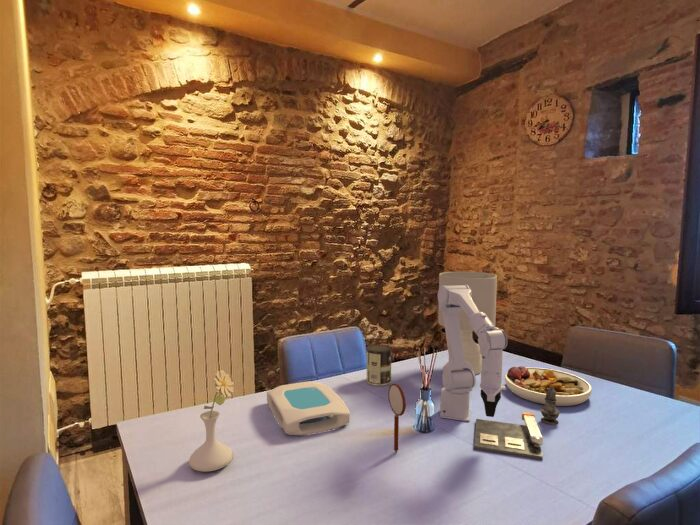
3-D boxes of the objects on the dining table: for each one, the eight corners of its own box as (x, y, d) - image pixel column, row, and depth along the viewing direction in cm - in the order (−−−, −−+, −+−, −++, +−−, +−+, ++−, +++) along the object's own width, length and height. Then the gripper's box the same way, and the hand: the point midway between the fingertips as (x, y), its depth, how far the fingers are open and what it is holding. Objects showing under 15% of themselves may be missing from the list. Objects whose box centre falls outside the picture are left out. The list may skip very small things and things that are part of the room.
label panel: (474, 449, 123) (474, 442, 123) (476, 421, 140) (476, 416, 140) (542, 460, 118) (542, 453, 118) (535, 429, 135) (535, 424, 135)
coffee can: (390, 376, 181) (390, 344, 180) (392, 386, 171) (392, 351, 169) (365, 376, 181) (366, 344, 180) (366, 386, 171) (366, 351, 170)
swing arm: (521, 417, 139) (521, 411, 139) (533, 418, 138) (533, 413, 138) (531, 445, 122) (531, 438, 121) (544, 446, 121) (545, 440, 121)
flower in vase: (208, 481, 108) (205, 385, 105) (179, 467, 114) (176, 376, 111) (246, 457, 119) (244, 369, 116) (218, 446, 125) (216, 362, 122)
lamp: (484, 384, 173) (488, 279, 169) (428, 372, 186) (430, 275, 182) (499, 367, 193) (503, 273, 189) (448, 358, 206) (450, 270, 202)
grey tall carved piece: (561, 426, 137) (563, 389, 136) (542, 424, 139) (543, 388, 137) (556, 418, 143) (558, 383, 142) (538, 416, 144) (539, 381, 143)
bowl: (593, 388, 170) (594, 369, 169) (587, 417, 144) (589, 394, 144) (513, 374, 186) (514, 356, 185) (496, 397, 160) (497, 377, 160)
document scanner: (286, 440, 129) (286, 420, 128) (266, 403, 154) (266, 387, 154) (351, 427, 137) (351, 408, 136) (321, 394, 163) (321, 378, 162)
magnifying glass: (386, 446, 125) (386, 379, 123) (391, 445, 125) (392, 378, 124) (401, 461, 117) (401, 390, 115) (406, 460, 117) (407, 389, 116)
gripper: (507, 381, 117) (505, 428, 118) (505, 364, 130) (503, 407, 132) (479, 378, 119) (478, 425, 120) (480, 361, 133) (479, 404, 134)
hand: (489, 415), depth 126 cm, fingers closed
